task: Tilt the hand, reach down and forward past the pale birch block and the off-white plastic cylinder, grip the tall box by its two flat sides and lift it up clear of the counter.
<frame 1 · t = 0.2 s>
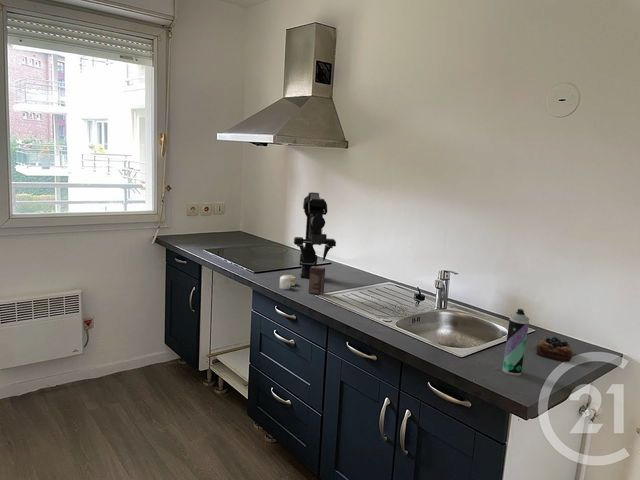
hand: (313, 260, 219), 15 cm above the worktop, tool pointing down, fingers open, 9 cm apart
birch block: (288, 284, 232), on the worktop
box: (316, 293, 220), on the worktop
spray can: (511, 372, 149), on the worktop
pastry: (553, 355, 166), on the worktop
plastic cylinder: (284, 287, 225), on the worktop
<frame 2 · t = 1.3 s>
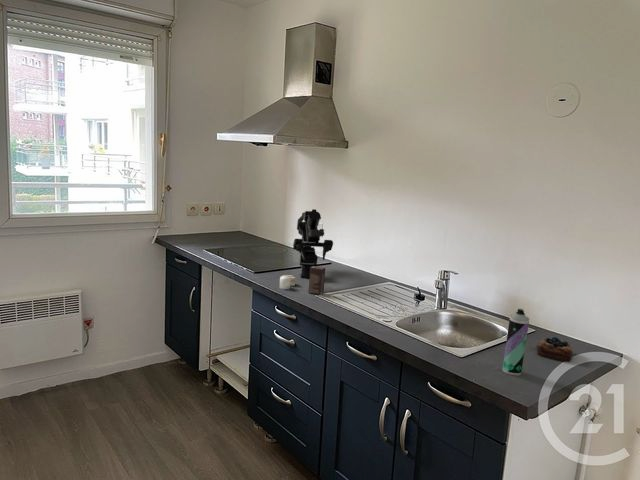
hand: (314, 259, 227), 14 cm above the worktop, tool tilted 45°, fingers open, 9 cm apart
nothing on the worktop moved.
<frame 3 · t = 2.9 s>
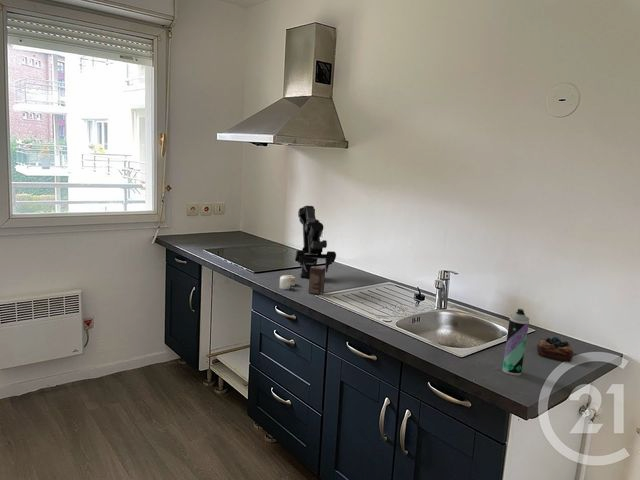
hand: (316, 271, 220), 10 cm above the worktop, tool tilted 45°, fingers open, 9 cm apart
nothing on the worktop moved.
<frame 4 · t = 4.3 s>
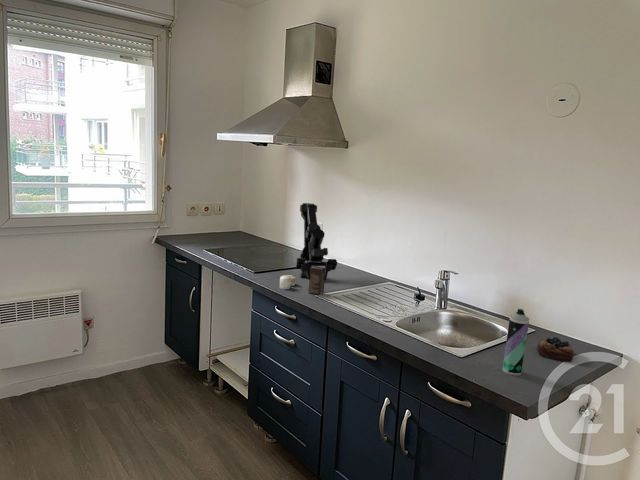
hand: (317, 279, 217), 7 cm above the worktop, tool tilted 45°, fingers closed on box, 7 cm apart
box: (316, 293, 220), on the worktop, touching gripper
everything else where it was.
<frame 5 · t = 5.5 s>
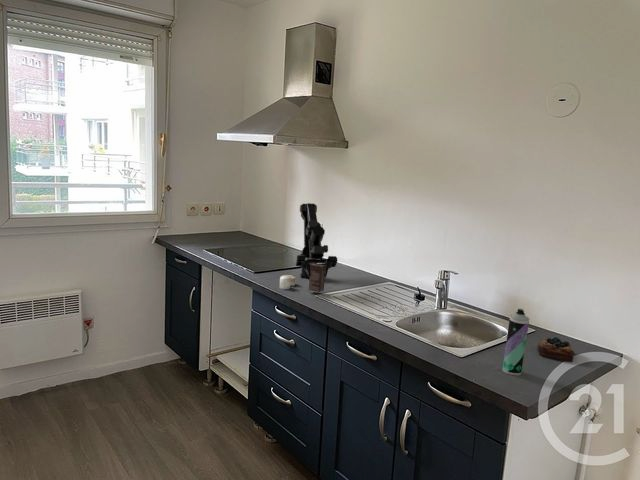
hand: (317, 277, 217), 8 cm above the worktop, tool tilted 45°, fingers closed on box, 7 cm apart
box: (316, 290, 220), point 1 cm above the worktop, touching gripper
everything else where it was.
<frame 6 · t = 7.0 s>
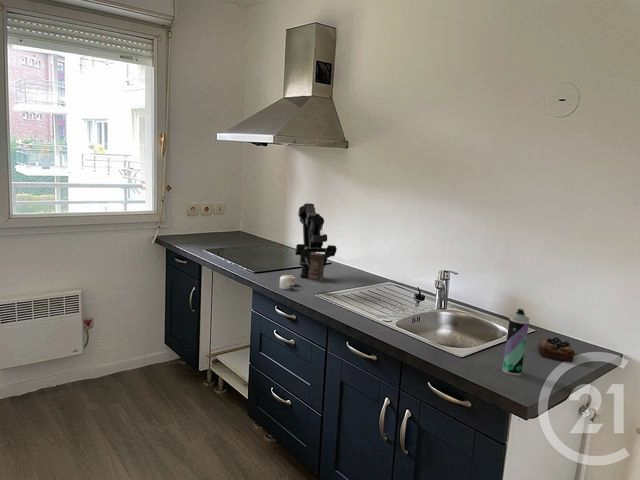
hand: (317, 265, 220), 12 cm above the worktop, tool tilted 45°, fingers closed on box, 7 cm apart
box: (315, 279, 222), point 5 cm above the worktop, touching gripper
everything else where it was.
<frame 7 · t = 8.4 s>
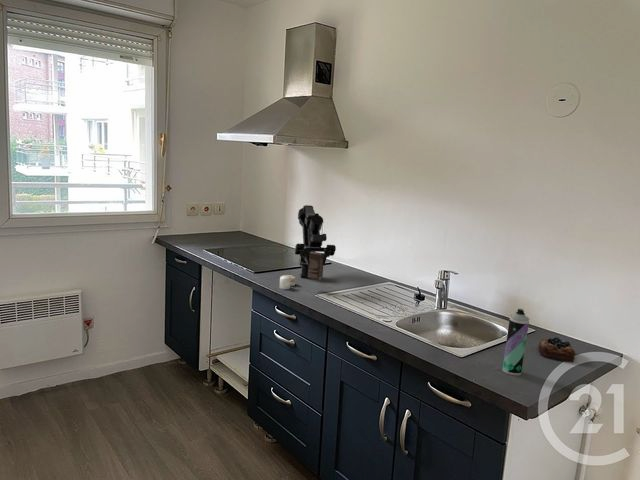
hand: (316, 265, 221), 12 cm above the worktop, tool tilted 45°, fingers closed on box, 7 cm apart
box: (314, 278, 224), point 5 cm above the worktop, touching gripper
everything else where it was.
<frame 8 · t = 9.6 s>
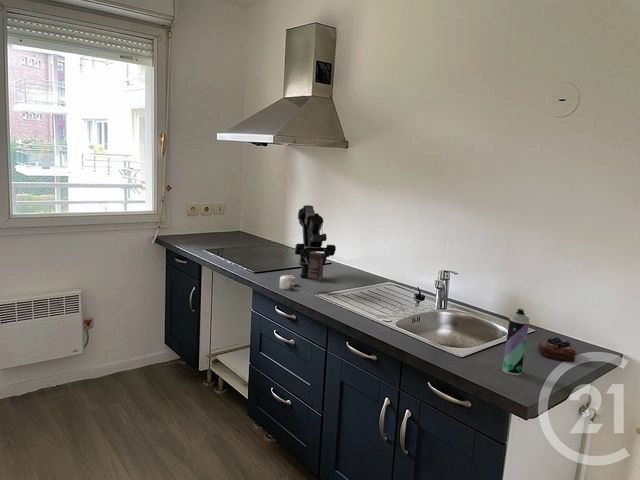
hand: (316, 265, 221), 12 cm above the worktop, tool tilted 45°, fingers closed on box, 7 cm apart
box: (314, 278, 224), point 5 cm above the worktop, touching gripper
everything else where it was.
at the end: the gripper is holding box; box point 5.5 cm above the worktop; birch block moved 0.4 cm from its start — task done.
